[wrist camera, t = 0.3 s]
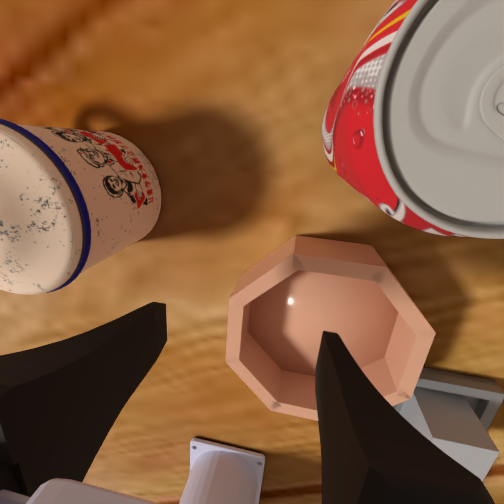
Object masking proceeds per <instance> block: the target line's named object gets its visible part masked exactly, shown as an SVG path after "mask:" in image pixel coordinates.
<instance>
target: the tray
mask: <svg viewBox="0 0 504 504" xmlns="http://www.w3.org/2000/svg"><path fill="white" fill-rule="evenodd" d="M416 386H417V387H422V388H428V389H433V390H438V391H443V392H448V393H454V394H459V395H464V397H465V398H466V400H467V401H468V403H469V404H470V406H471V408H472V409H473V411H474V412H475V414H476V416H477V417H478V419H479V420H480V422H481V423H482V425H483V427H484V428H485V430H486V431H487V429H488V428H489V426H490V424H491V422H492V420H493V418H494V416H495V415H496V413H497V411H498V409H499V407H500V405H501V403H502V401H503V400H504V391H503V390H502V389H501V388H500V386H499V385H498V384H497V383H496V381H495V380H491V379H485V378H480V377H475V376H469V375H464V374H458V373H453V372H447V371H442V370H437V369H431V368H426V367H423V368H422V371H421V374H420V376H419V379H418V381H417V384H416ZM403 403H404V402H402V403H399V404H397V405H394V406H392V407H393V408H394V409H395V410H396V411H397V412H398V413H399V414H400V411H401V408H402V405H403Z"/></svg>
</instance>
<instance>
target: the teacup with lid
mask: <svg viewBox="0 0 504 504" xmlns="http://www.w3.org/2000/svg"><path fill="white" fill-rule="evenodd" d="M160 209H161V189H160V184H159V181H158V178H157V175H156V172H155V170H154V168H153V167H152V165H151V163H150V162H149V160H148V159H147V157H146V156H145V155H144V154H143V153H142V152H141V151H140V150H139V148H137V147H136V146H135V145H134V144H133V143H131V142H130V141H128V140H127V139H125V138H123V137H121V136H119V135H116V134H113V133H109V132H103V131H92V130H79V129H66V128H53V127H41V126H28V125H16V124H14V123H12V122H9V121H6V120H3V119H0V289H1V290H4V291H8V292H11V293H16V294H42V293H48V292H52V291H56V290H58V289H61V288H63V287H65V286H67V285H68V284H69V283H71V282H72V281H73V280H74V279H75V278H76V277H77V276H78V275H79V274H80V273H81V272H83V271H84V270H86V269H88V268H90V267H92V266H93V265H95V264H97V263H99V262H101V261H102V260H104V259H106V258H108V257H110V256H111V255H113V254H115V253H117V252H119V251H120V250H122V249H124V248H126V247H128V246H129V245H131V244H133V243H135V242H137V241H138V240H140V239H142V238H143V237H145V236H146V235H147V234H148V233H149V232H150V231H151V230H152V228H153V227H154V225H155V224H156V222H157V219H158V217H159V213H160Z"/></svg>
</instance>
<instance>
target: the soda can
mask: <svg viewBox="0 0 504 504" xmlns="http://www.w3.org/2000/svg"><path fill="white" fill-rule="evenodd" d="M322 140H323V146H324V150H325V154H326V157H327V159H328V161H329V163H330V165H331V166H332V168H333V169H334V170H335V171H336V172H337V174H338V175H339V176H341V177H342V178H343V179H344V180H345V181H346V182H348V183H349V184H350V185H351V186H352V187H353V188H355V189H356V190H357V191H358V192H359V193H361V194H362V195H363V196H364V197H366V198H367V199H368V200H369V201H370V202H372V203H373V204H374V205H376V206H377V207H378V208H379V209H381V210H382V211H383V212H385V213H386V214H388V215H389V216H391V217H393V218H394V219H396V220H398V221H399V222H401V223H403V224H406V225H408V226H410V227H413V228H416V229H419V230H422V231H425V232H429V233H433V234H438V235H444V236H454V237H475V238H487V239H504V0H396V1H395V2H394V3H393V5H392V6H391V7H390V8H389V9H388V11H387V12H386V13H385V14H384V16H383V17H382V18H381V20H380V21H379V23H378V24H377V25H376V27H375V28H374V30H373V31H372V33H371V34H370V36H369V37H368V39H367V40H366V42H365V43H364V45H363V47H362V48H361V50H360V51H359V53H358V55H357V56H356V58H355V59H354V61H353V63H352V64H351V66H350V68H349V69H348V71H347V73H346V74H345V76H344V78H343V79H342V81H341V83H340V84H339V86H338V88H337V89H336V91H335V93H334V94H333V96H332V98H331V100H330V102H329V104H328V106H327V109H326V112H325V116H324V120H323V125H322Z"/></svg>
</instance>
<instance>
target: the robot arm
mask: <svg viewBox="0 0 504 504" xmlns="http://www.w3.org/2000/svg"><path fill="white" fill-rule="evenodd" d="M166 341H167V323H166V304H164V303H158V302H152V303H149V304H147V305H145V306H143V307H141V308H138V309H136V310H134V311H132V312H130V313H128V314H126V315H124V316H122V317H120V318H117V319H115V320H113V321H111V322H109V323H106V324H104V325H102V326H99V327H97V328H95V329H92V330H90V331H87V332H85V333H82V334H79V335H76V336H74V337H71V338H68V339H65V340H62V341H58V342H55V343H51V344H48V345H44V346H41V347H37V348H33V349H29V350H25V351H20V352H16V353H11V354H6V355H1V356H0V504H156V503H154V502H152V501H148V500H144V499H141V498H137V497H133V496H130V495H126V494H122V493H119V492H115V491H111V490H108V489H104V488H100V487H97V486H93V485H89V484H86V483H82V481H83V479H84V477H85V475H86V473H87V472H88V470H89V468H90V466H91V464H92V462H93V460H94V458H95V456H96V454H97V452H98V451H99V449H100V447H101V445H102V443H103V441H104V440H105V438H106V436H107V434H108V432H109V431H110V429H111V427H112V425H113V424H114V422H115V420H116V418H117V417H118V415H119V413H120V412H121V410H122V408H123V407H124V405H125V404H126V402H127V401H128V399H129V398H130V397H131V395H132V394H133V392H134V391H135V390H136V388H137V387H138V385H139V384H140V383H141V381H142V380H143V379H144V377H145V376H146V374H147V373H148V372H149V370H150V369H151V367H152V366H153V364H154V363H155V362H156V360H157V358H158V357H159V355H160V353H161V351H162V349H163V347H164V345H165V343H166ZM315 394H316V404H317V414H318V423H319V433H320V442H321V459H322V504H495V503H494V501H493V499H492V497H491V496H490V494H489V492H488V491H487V489H486V487H485V486H484V484H483V482H482V481H481V479H480V478H479V477H477V476H476V475H474V474H473V473H472V472H470V471H469V470H468V469H466V468H465V467H463V466H462V465H461V464H459V463H458V462H457V461H455V460H454V459H452V458H451V457H450V456H448V455H447V454H446V453H444V452H443V451H442V450H441V449H439V448H438V447H437V446H436V445H434V444H433V443H432V442H431V441H430V440H428V439H427V438H426V437H425V436H424V435H422V434H421V433H420V432H419V431H418V430H417V429H415V428H414V427H413V426H412V425H411V424H410V423H409V422H408V421H407V420H406V419H405V418H404V417H403V416H402V415H400V414H399V413H398V412H397V411H396V410H395V409H394V408H393V407H392V406H391V404H390V403H389V402H388V401H387V400H386V399H385V398H384V397H383V396H382V395H381V394H380V393H379V391H378V390H377V389H376V388H375V387H374V385H373V384H372V383H371V382H370V380H369V379H368V378H367V377H366V375H365V374H364V372H363V371H362V370H361V368H360V367H359V365H358V364H357V363H356V361H355V360H354V358H353V357H352V355H351V354H350V352H349V350H348V349H347V347H346V346H345V344H344V342H343V341H342V339H341V337H340V336H339V334H338V333H334V332H328V331H323V333H322V338H321V343H320V348H319V353H318V358H317V363H316V368H315ZM264 464H265V456H264V455H263V454H261V453H257V452H252V451H248V450H244V449H240V448H236V447H232V446H227V445H223V444H219V443H215V442H211V441H207V440H202V439H198V438H192V439H191V442H190V475H189V478H188V480H187V483H186V486H185V489H184V492H183V494H182V497H181V500H180V503H179V504H259V498H260V491H261V484H262V478H263V471H264Z"/></svg>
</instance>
